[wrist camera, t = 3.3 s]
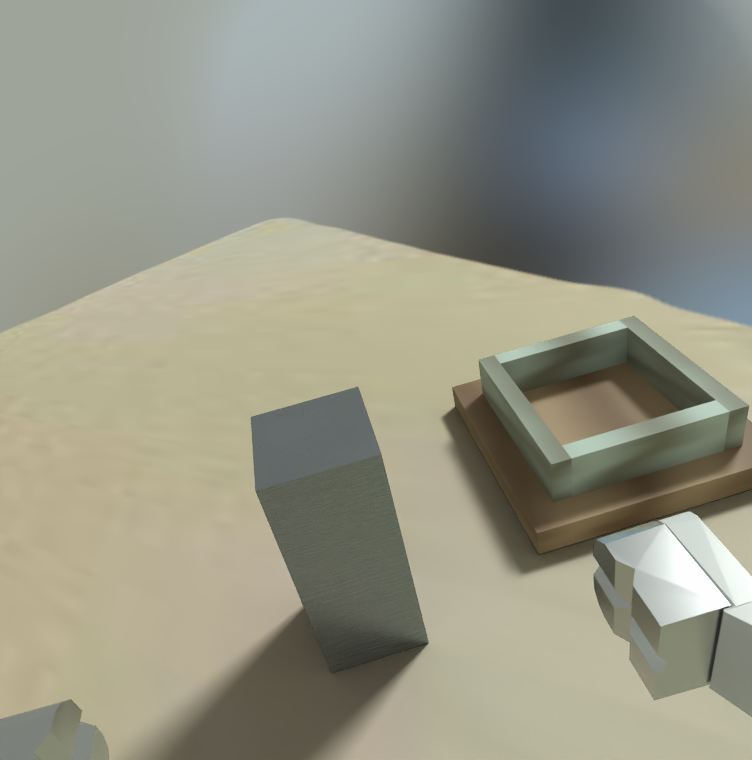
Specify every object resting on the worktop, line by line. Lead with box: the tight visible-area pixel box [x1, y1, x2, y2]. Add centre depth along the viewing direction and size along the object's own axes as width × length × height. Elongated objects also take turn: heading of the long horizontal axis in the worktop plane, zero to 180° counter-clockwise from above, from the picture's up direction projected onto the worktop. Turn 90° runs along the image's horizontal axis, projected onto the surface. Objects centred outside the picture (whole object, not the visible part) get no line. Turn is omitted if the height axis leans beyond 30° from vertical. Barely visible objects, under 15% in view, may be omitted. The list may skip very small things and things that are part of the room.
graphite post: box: [251, 387, 429, 673], centre depth 26 cm, size 4×4×11 cm
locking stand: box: [452, 316, 752, 554], centre depth 35 cm, size 13×13×4 cm
